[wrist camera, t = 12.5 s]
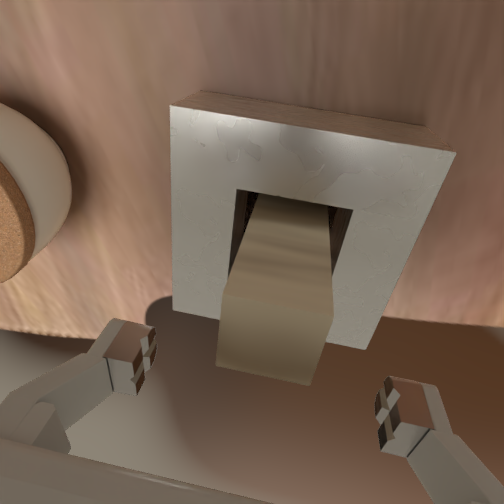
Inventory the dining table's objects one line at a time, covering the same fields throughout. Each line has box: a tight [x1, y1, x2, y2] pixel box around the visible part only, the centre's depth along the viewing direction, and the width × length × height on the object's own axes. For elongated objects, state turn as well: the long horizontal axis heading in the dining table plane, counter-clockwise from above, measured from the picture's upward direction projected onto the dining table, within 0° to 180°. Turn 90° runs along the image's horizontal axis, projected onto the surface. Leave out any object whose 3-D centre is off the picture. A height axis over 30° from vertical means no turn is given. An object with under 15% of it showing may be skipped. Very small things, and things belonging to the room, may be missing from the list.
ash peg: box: [216, 193, 334, 386], centre depth 18 cm, size 4×4×12 cm
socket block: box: [170, 90, 457, 350], centre depth 21 cm, size 13×13×5 cm
